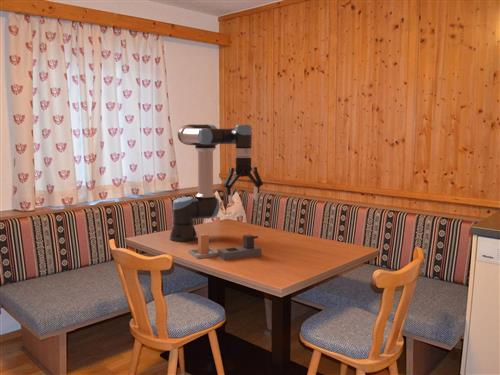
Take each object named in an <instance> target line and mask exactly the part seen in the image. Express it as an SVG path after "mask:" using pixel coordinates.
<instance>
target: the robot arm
mask: <svg viewBox="0 0 500 375" xmlns="http://www.w3.org/2000/svg"><path fill="white" fill-rule="evenodd" d="M252 138H253V133H252V125H250V124H236V125H235V127H234V128H232V127H231V128H218V127H217V126H216V125H215V124H193V123H192V124H185V125H183V126H182V127H180V128H179V129H178V132H177V139H178V140H179V142H180V143H182V144H184V145H186V146H187V145H188V146H194V148H195V150H196V151H197V182H198V183H197V185H198V186H197V187H198V190H197V193H196V194H195V199H194V197H193V196H184V197H183V196H182V197H179V198H176V199H174V200H173V201H172V208H171V209H172V228H171V232H170V235H169V240H171V241H174V242H192V241H194V240H196V239H197V240H198V234H197V231H196V228H195V225H194V221H195V220H203V219H205V220H206V219H212V218H215V217H217V216H218V214H219V211H220V206H221V205H220V200H219V199H218V198H217V196H216V194H215V193H214V151H215V150H216V149H217V148H216V146H218V145H235V167H229V170H228V171H229V172H228V174H227V176H226V179H225V181H224V183H223V185H222V186H223V187H224V188H226V195H227V196H228V203H233V186H234V184H235V183H236V182H237V181H238V179H239V178H240V177H241V178H244V177H247V178H249V180H250V181H251V182H252V183H253V185H254V186H253V201H258V200H259V197H258V196H259V195H258V194H259V193H260V188H261V187H262V186H263V184H264V183H263V181H262V178H261V177H260V174H259V171H258V167H257V166H252ZM251 172H253V174H252V173H251ZM234 173H235V174H234ZM253 175H254V176H253Z"/></svg>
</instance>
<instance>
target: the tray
mask: <svg viewBox="0 0 500 375" xmlns="http://www.w3.org/2000/svg"><path fill="white" fill-rule="evenodd" d="M188 253H189V255H191V256H192V257H194V258H195V259H204V258H210V257H212V258H214V257H218V251H217V250H215V249H213V248H211V247H210V246H209V254H202V255H199V254H198V248H195V249H193V248H192V249H189V250H188Z"/></svg>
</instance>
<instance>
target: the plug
mask: <svg viewBox="0 0 500 375" xmlns="http://www.w3.org/2000/svg"><path fill="white" fill-rule="evenodd" d="M209 237H210V236H209V234H207V233H206V232H205V233H198V234H197V246H198V247H197V249H198V254H199V255H202V254H209V247H210V246H209V245H210V243H209V242H210V240H209Z"/></svg>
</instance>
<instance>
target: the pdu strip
mask: <svg viewBox="0 0 500 375" xmlns="http://www.w3.org/2000/svg"><path fill="white" fill-rule="evenodd" d="M255 239H259V236H258V235H252V234H243V236H242V245H241V246H240V245H239V246H231V247H224V248H223V247H222V248H217V252H218V256H217V257H218V258H220V259H221V260H223V261H228V260H237V259H243V258H244V259H245V258H251V257H253V258H257V257H262V248H261V247H260V246H257V245H255Z"/></svg>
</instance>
